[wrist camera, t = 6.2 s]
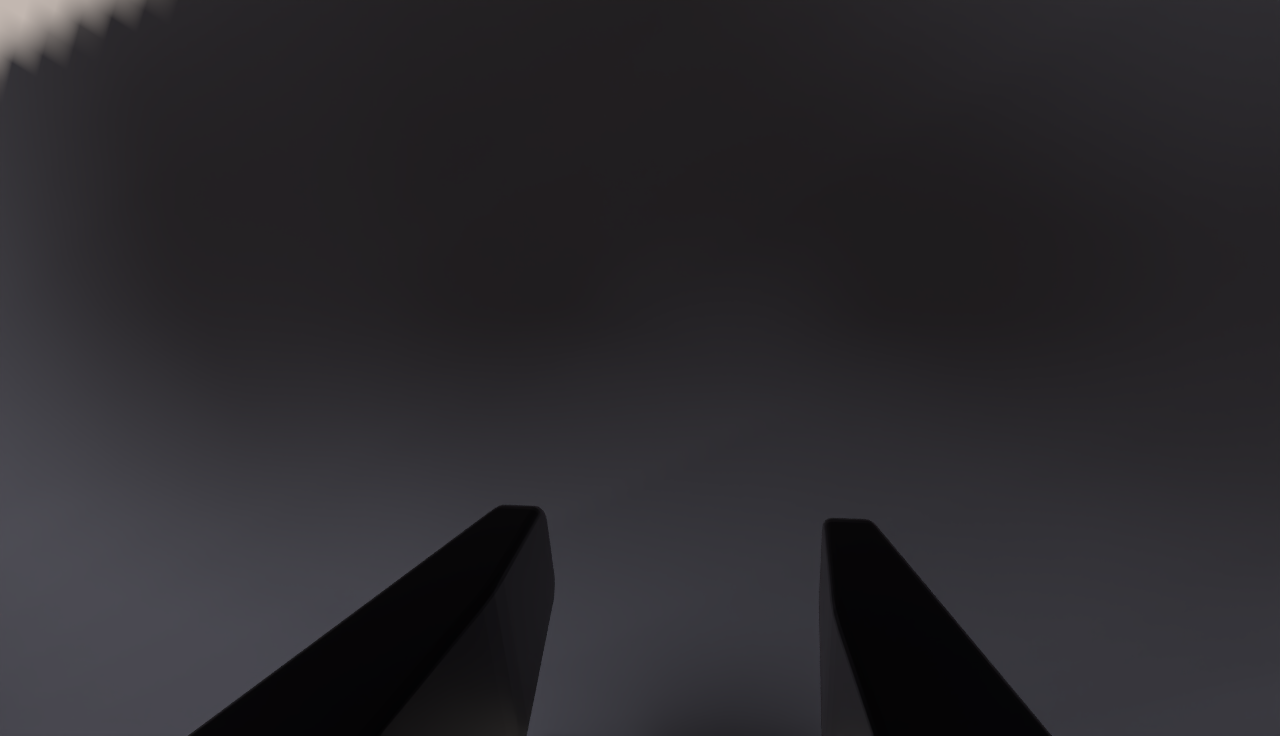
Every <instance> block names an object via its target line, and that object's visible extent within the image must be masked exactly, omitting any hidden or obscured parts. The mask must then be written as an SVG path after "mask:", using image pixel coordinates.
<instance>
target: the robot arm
mask: <svg viewBox="0 0 1280 736" xmlns="http://www.w3.org/2000/svg"><path fill="white" fill-rule="evenodd" d="M554 588H555V578H554V569H553V562H552V554H551V547H550V539H549V532H548V525H547V519H546V516H545V513H544V511H543V510H542V509H541V508H539V507H537V506H522V505H501V506H498V507H496V508H494V509H493V510H492V511H490V512H489V513H487V514H486V515H485V516H483V517H482V518H481V519H479V520H478V521H477V522H475V523H474V524H473V525H471V526H470V527H469V528H467V529H466V530H465V531H463V532H462V533H461V534H459V535H458V536H456V537H455V538H454V539H452V540H451V541H450V542H448V543H447V544H446V545H444V546H443V547H442V548H440V549H439V550H438V551H436V552H435V553H434V554H432V555H431V556H430V557H428V558H427V559H425V560H424V561H423V562H421V563H420V564H419V565H417V566H416V567H415V568H413V569H412V570H411V571H409V572H408V573H407V574H405V575H404V576H403V577H401V578H400V579H399V580H397V581H396V582H394V583H393V584H392V585H390V586H389V587H388V588H386V589H385V590H384V591H382V592H381V593H380V594H378V595H377V596H376V597H374V598H373V599H372V600H370V601H369V602H368V603H366V604H365V605H363V606H362V607H361V608H359V609H358V610H357V611H355V612H354V613H353V614H351V615H350V616H349V617H347V618H346V619H345V620H343V621H342V622H341V623H339V624H338V625H337V626H335V627H334V628H332V629H331V630H330V631H328V632H327V633H326V634H324V635H323V636H322V637H320V638H319V639H318V640H316V641H315V642H314V643H312V644H311V645H310V646H308V647H307V648H306V649H304V650H303V651H301V652H300V653H299V654H297V655H296V656H295V657H293V658H292V659H291V660H289V661H288V662H287V663H285V664H284V665H283V666H281V667H280V668H279V669H277V670H276V671H275V672H273V673H272V674H270V675H269V676H268V677H266V678H265V679H264V680H262V681H261V682H260V683H258V684H257V685H256V686H254V687H253V688H252V689H250V690H249V691H248V692H246V693H245V694H243V695H242V696H241V697H239V698H238V699H237V700H235V701H234V702H233V703H231V704H230V705H229V706H227V707H226V708H225V709H223V710H222V711H221V712H219V713H218V714H217V715H215V716H214V717H212V718H211V719H210V720H208V721H207V722H206V723H204V724H203V725H202V726H200V727H199V728H198V729H196V730H195V731H194V732H192V733H191V734H190V735H188V736H527V731H528V726H529V721H530V716H531V711H532V706H533V701H534V696H535V691H536V686H537V681H538V676H539V671H540V666H541V661H542V656H543V651H544V646H545V641H546V636H547V631H548V626H549V620H550V615H551V610H552V605H553V600H554ZM819 628H820V676H821V725H822V736H1052V735H1051V734H1050V733H1049V732H1048V731H1047V729H1046V728H1045V727H1044V726H1043V725H1042V723H1041V722H1040V721H1039V720H1038V719H1037V717H1036V716H1035V715H1034V714H1033V713H1032V711H1031V710H1030V709H1029V708H1028V707H1027V705H1026V704H1025V703H1024V702H1023V701H1022V699H1021V698H1020V697H1019V696H1018V695H1017V693H1016V692H1015V691H1014V690H1013V689H1012V687H1011V686H1010V685H1009V684H1008V683H1007V681H1006V680H1005V679H1004V678H1003V677H1002V676H1001V674H1000V673H999V672H998V671H997V670H996V668H995V667H994V666H993V665H992V664H991V662H990V661H989V660H988V659H987V658H986V656H985V655H984V654H983V653H982V652H981V650H980V649H979V648H978V647H977V646H976V644H975V643H974V642H973V641H972V640H971V638H970V637H969V636H968V635H967V634H966V632H965V631H964V630H963V629H962V628H961V626H960V625H959V624H958V623H957V622H956V620H955V619H954V618H953V617H952V616H951V614H950V613H949V612H948V611H947V610H946V608H945V607H944V606H943V605H942V604H941V602H940V601H939V600H938V599H937V598H936V596H935V595H934V594H933V593H932V592H931V590H930V589H929V588H928V587H927V586H926V584H925V583H924V582H923V581H922V580H921V578H920V577H919V576H918V575H917V574H916V572H915V571H914V570H913V569H912V568H911V566H910V565H909V564H908V563H907V562H906V560H905V559H904V558H903V557H902V556H901V555H900V553H899V552H898V551H897V550H896V549H895V547H894V546H893V545H892V544H891V543H890V541H889V540H888V539H887V538H886V537H885V535H884V534H883V533H882V532H881V531H880V529H879V528H878V527H877V526H876V525H875V524H874V523H873V522H872V521H870V520H867V519H849V518H828V519H827V520H825V522H824V523H823V528H822V545H821V568H820V591H819Z"/></svg>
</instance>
